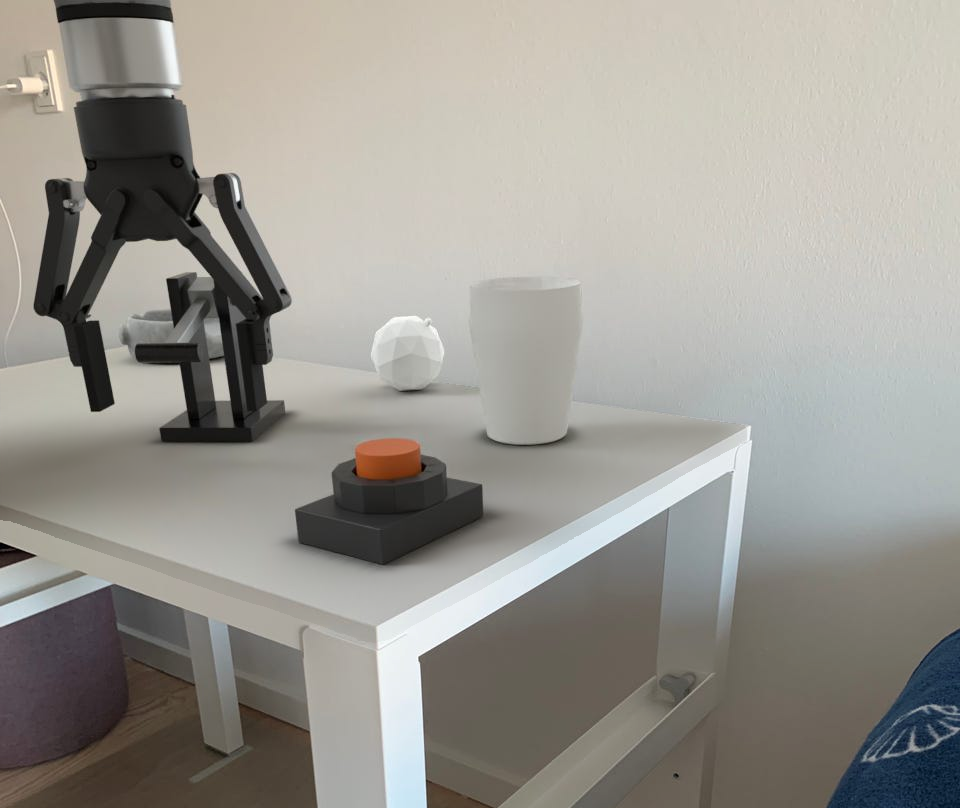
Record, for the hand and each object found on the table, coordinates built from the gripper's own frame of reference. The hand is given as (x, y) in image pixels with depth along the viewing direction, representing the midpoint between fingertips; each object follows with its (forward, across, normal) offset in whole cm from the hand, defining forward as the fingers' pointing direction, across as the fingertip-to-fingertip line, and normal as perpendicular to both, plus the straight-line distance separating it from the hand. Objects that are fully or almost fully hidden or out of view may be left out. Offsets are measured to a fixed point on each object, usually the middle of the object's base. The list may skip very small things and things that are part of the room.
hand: (179, 408), depth 79 cm
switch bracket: (+4, 0, -9) cm, 10 cm away
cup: (+4, -27, -6) cm, 28 cm away
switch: (-5, 0, -5) cm, 7 cm away
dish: (+4, +17, -44) cm, 48 cm away
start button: (0, -20, +17) cm, 26 cm away
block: (+4, -20, +17) cm, 26 cm away
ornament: (+4, -14, -24) cm, 28 cm away
